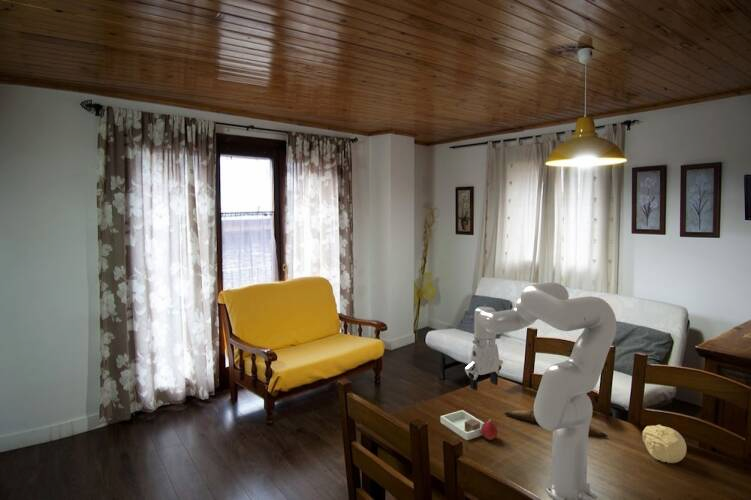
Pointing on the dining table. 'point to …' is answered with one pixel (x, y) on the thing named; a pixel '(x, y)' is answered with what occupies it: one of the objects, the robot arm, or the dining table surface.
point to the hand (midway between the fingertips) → (483, 386)
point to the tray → (461, 424)
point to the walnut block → (471, 425)
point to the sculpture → (664, 443)
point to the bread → (530, 416)
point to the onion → (489, 430)
